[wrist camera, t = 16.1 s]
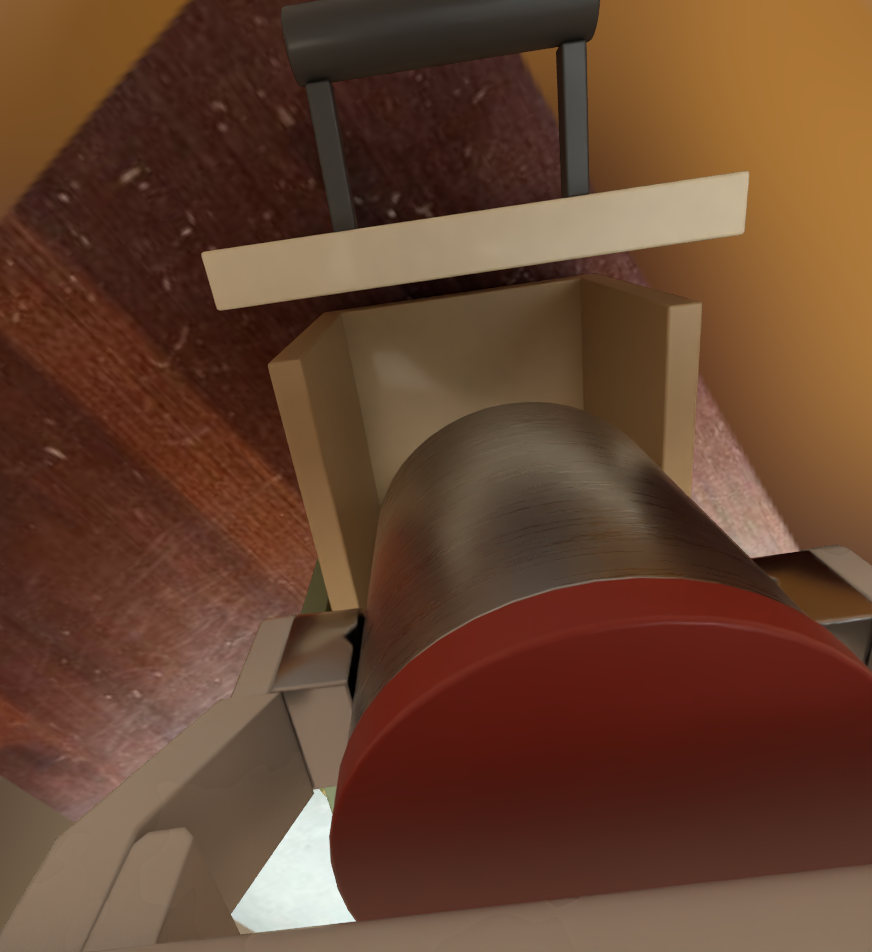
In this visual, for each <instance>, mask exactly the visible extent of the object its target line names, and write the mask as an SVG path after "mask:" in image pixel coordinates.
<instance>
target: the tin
mask: <svg viewBox="0 0 872 952" xmlns="http://www.w3.org/2000/svg"><path fill="white" fill-rule="evenodd" d="M329 839H330V858H331V864H332V868H333V872H334V876H335V880H336V883H337V887H338V890H339V892H340V894H341V896H342V898H343V900H344V903H345V905H346V907H347V909H348V911H349V912H350V913H351V915H352V916H353V918H354V919H355V920H356V921H365V920H374V919H383V918H392V917H401V916H410V915H419V914H428V913H437V912H445V911H454V910H463V909H472V908H481V907H490V906H499V905H508V904H517V903H526V902H535V901H544V900H553V899H562V898H571V897H580V896H589V895H598V894H607V893H616V892H625V891H634V890H643V889H652V888H661V887H670V886H679V885H688V884H697V883H706V882H715V881H724V880H733V879H742V878H751V877H759V876H768V875H777V874H786V873H795V872H803V871H812V870H821V869H830V868H838V867H847V866H856V865H865V864H872V671H871V670H870V669H869V668H868V667H867V666H866V665H865V664H864V663H863V662H862V661H861V660H860V659H859V658H858V657H857V656H856V655H855V654H854V653H853V652H852V651H851V650H850V649H849V648H848V647H847V646H845V645H844V644H843V643H842V642H841V641H840V640H839V639H838V638H836V637H835V636H834V635H833V634H832V633H831V632H830V631H828V630H827V629H826V628H825V627H824V626H822V625H820V624H819V623H817V622H816V621H814V620H812V619H811V618H810V617H809V616H808V615H807V614H806V613H805V612H804V611H803V610H802V609H801V608H800V607H799V606H798V605H797V604H796V603H795V602H794V601H793V600H792V599H791V598H790V597H789V596H788V595H787V594H786V593H785V592H784V591H783V590H782V589H781V588H780V587H779V586H778V585H777V584H776V583H775V582H774V581H773V580H772V579H771V578H770V577H769V576H768V575H767V574H766V573H765V572H764V571H763V570H762V569H761V568H760V567H759V566H758V565H757V564H756V563H755V562H754V561H753V560H752V559H751V558H750V557H749V556H748V555H747V554H746V553H745V552H744V551H743V550H742V549H741V548H740V547H739V546H738V545H737V544H736V543H735V542H734V541H733V540H732V539H731V538H730V537H729V536H728V535H727V534H726V533H725V532H724V531H723V530H722V529H721V528H720V527H719V526H718V525H717V524H716V523H715V522H714V521H713V520H712V519H711V518H710V517H709V516H708V515H707V514H706V513H705V512H704V511H703V510H702V509H701V508H700V507H699V506H698V505H697V504H696V503H695V502H694V501H693V500H692V499H691V498H690V497H689V496H688V495H687V494H686V493H685V492H684V491H683V490H682V489H681V488H680V487H679V486H678V485H677V484H676V483H675V482H674V481H673V480H672V479H671V478H670V477H669V476H668V475H667V474H666V473H665V472H664V471H663V470H662V469H661V468H660V467H659V466H658V465H657V464H656V463H655V462H654V461H653V460H652V459H651V458H650V457H649V456H648V455H647V454H646V453H645V452H644V451H643V450H642V449H641V448H640V447H639V446H638V445H637V444H636V443H635V442H634V441H633V440H631V439H630V438H629V437H628V436H627V435H626V434H625V433H624V432H623V431H621V430H620V429H618V428H617V427H615V426H614V425H612V424H611V423H609V422H608V421H606V420H604V419H602V418H600V417H598V416H596V415H594V414H592V413H589V412H587V411H584V410H581V409H577V408H574V407H571V406H567V405H561V404H555V403H549V402H520V403H509V404H503V405H498V406H494V407H489V408H485V409H482V410H480V411H477V412H474V413H471V414H468V415H466V416H464V417H462V418H460V419H458V420H456V421H454V422H452V423H450V424H448V425H446V426H445V427H443V428H442V429H440V430H439V431H437V432H436V433H434V434H433V435H431V436H430V437H429V438H428V439H427V440H425V441H424V442H423V443H422V444H421V445H420V446H419V447H417V448H416V449H415V450H414V452H413V453H412V454H411V455H410V456H409V457H408V458H407V459H406V461H405V462H404V463H403V464H402V466H401V467H400V469H399V470H398V472H397V473H396V475H395V476H394V478H393V479H392V481H391V483H390V486H389V488H388V490H387V492H386V494H385V496H384V500H383V503H382V506H381V509H380V513H379V519H378V526H377V533H376V540H375V547H374V555H373V562H372V569H371V576H370V584H369V591H368V598H367V605H366V613H365V620H364V627H363V635H362V642H361V649H360V656H359V664H358V671H357V678H356V685H355V693H354V700H353V707H352V715H351V722H350V729H349V736H348V744H347V747H346V749H345V752H344V755H343V758H342V761H341V764H340V768H339V775H338V781H337V788H336V795H335V802H334V808H333V815H332V822H331V829H330V836H329Z"/></svg>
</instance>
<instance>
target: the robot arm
mask: <svg viewBox="0 0 872 952" xmlns="http://www.w3.org/2000/svg"><path fill="white" fill-rule="evenodd" d="M751 559H752V560H753V561H754V562H755V563H756V564H757V565H758V566H759V567H760V568H761V569H762V570H763V571H764V572H765V573H766V574H767V575H768V576H769V577H770V578H771V579H772V580H773V581H774V582H775V583H776V584H777V585H778V586H779V587H780V588H781V589H782V590H783V591H784V592H785V593H786V594H787V595H788V596H789V597H790V598H791V599H792V600H793V601H794V602H795V603H796V604H797V605H798V606H799V607H800V608H801V609H802V610H803V611H804V612H805V613H806V614H807V615H808V616H809V617H810V618H811V619H812V620H814V621H816V622H817V623H819V624H820V625H822V626H824V627H825V628H826V629H827V630H828V631H830V632H831V633H832V634H833V635H834V636H835V637H836V638H838V639H839V640H840V641H841V642H842V643H843V644H844V645H845V646H847V647H848V648H849V649H850V650H851V651H852V652H853V653H854V654H855V655H856V656H857V657H858V658H859V659H860V660H861V661H862V662H863V663H864V664H865V665H866V666H867V667H868V668H869V669H870V670H871V671H872V566H871V565H870V564H868V563H867V562H865V561H864V560H863V559H862V558H860V557H859V556H857V555H856V554H855V553H854V552H852V551H851V550H850V549H848V548H846V547H842V546H839V545H831V546H825V547H819V548H812V549H806V550H801V551H800V552H792V553H785V554H778V555H770V556H763V557H756V558H751ZM364 620H365V612H364V611H363V610H362V608H355V609H346V610H337V611H327V612H318V613H309V614H299V615H298V616H297V615H291V616H283V617H275V618H268V619H266V620H264V621H263V622H262V623H261V624H260V626H259V628H258V631H257V633H256V636H255V638H254V641H253V643H252V646H251V648H250V651H249V653H248V656H247V658H246V660H245V663H244V665H243V668H242V670H241V673H240V675H239V678H238V680H237V683H236V685H235V688H234V690H233V693H232V695H231V698H229V699H221V700H219V701H218V702H217V703H216V704H214V705H213V706H212V707H211V708H210V709H208V710H207V711H206V712H205V713H204V714H203V715H201V716H200V717H199V718H198V719H197V720H196V721H194V722H193V723H192V724H191V725H190V726H188V727H187V728H186V729H185V730H184V731H183V732H181V733H180V734H179V735H178V736H177V737H176V738H174V739H173V740H172V741H171V742H170V743H168V744H167V745H166V746H165V747H164V748H163V749H161V750H160V751H159V752H158V753H157V754H156V755H154V756H153V757H152V758H151V759H150V760H148V761H147V762H146V763H145V764H144V765H143V766H141V767H140V768H139V769H138V770H137V771H136V772H134V773H133V774H132V775H131V776H130V777H128V778H127V779H126V780H125V781H124V782H123V783H121V784H120V785H119V786H118V787H117V788H115V789H114V790H113V791H112V792H111V793H110V794H108V795H107V796H106V797H105V798H104V799H103V800H101V801H100V802H99V803H98V804H97V805H95V806H94V807H93V808H92V809H91V810H90V811H88V812H87V813H86V814H85V815H84V816H83V817H81V818H80V819H79V820H78V821H77V822H75V823H74V824H73V825H72V826H71V827H70V828H68V829H67V830H66V831H65V832H64V833H63V834H61V835H60V836H59V837H58V838H57V839H56V840H55V842H54V843H53V845H52V847H51V848H50V850H49V852H48V853H47V855H46V857H45V859H44V860H43V862H42V864H41V865H40V867H39V869H38V870H37V872H36V874H35V875H34V877H33V879H32V880H31V882H30V884H29V885H28V887H27V889H26V890H25V892H24V894H23V895H22V897H21V899H20V900H19V902H18V904H17V906H16V907H15V909H14V911H13V912H12V914H11V916H10V918H9V919H8V921H7V922H6V924H5V926H4V928H3V929H2V931H1V932H0V952H872V864H865V865H856V866H847V867H838V868H830V869H821V870H812V871H803V872H795V873H786V874H777V875H768V876H759V877H751V878H742V879H733V880H724V881H715V882H706V883H697V884H688V885H679V886H670V887H661V888H652V889H643V890H634V891H625V892H616V893H607V894H598V895H589V896H580V897H571V898H562V899H553V900H544V901H535V902H526V903H517V904H508V905H499V906H490V907H481V908H472V909H463V910H454V911H445V912H437V913H428V914H419V915H410V916H401V917H392V918H383V919H374V920H365V921H356V922H348V923H339V924H330V925H321V926H312V927H303V928H294V929H285V930H276V931H267V932H258V933H250V934H241V935H240V933H239V931H238V928H237V927H236V924H235V922H234V920H233V918H232V916H231V913H232V912H233V910H234V909H235V907H236V906H237V904H238V903H239V901H240V900H241V899H242V897H243V896H244V894H245V893H246V891H247V890H248V888H249V887H250V885H251V884H252V883H253V881H254V880H255V878H256V877H257V875H258V874H259V872H260V871H261V869H262V868H263V867H264V865H265V864H266V862H267V861H268V859H269V858H270V856H271V855H272V853H273V852H274V851H275V849H276V848H277V846H278V845H279V843H280V842H281V840H282V839H283V837H284V836H285V835H286V833H287V832H288V830H289V829H290V827H291V826H292V824H293V823H294V822H295V820H296V819H297V817H298V816H299V814H300V813H301V811H302V810H303V808H304V807H305V806H306V804H307V803H308V801H309V800H310V798H311V797H312V795H313V794H314V792H313V790H314V789H320V788H327V787H334V786H337V781H338V775H339V768H340V764H341V761H342V758H343V755H344V752H345V749H346V747H347V744H348V736H349V729H350V722H351V715H352V707H353V700H354V693H355V685H356V678H357V671H358V664H359V656H360V649H361V642H362V635H363V627H364Z"/></svg>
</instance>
